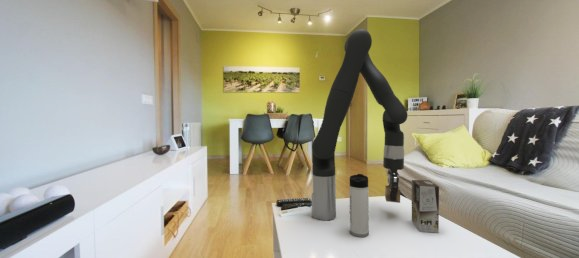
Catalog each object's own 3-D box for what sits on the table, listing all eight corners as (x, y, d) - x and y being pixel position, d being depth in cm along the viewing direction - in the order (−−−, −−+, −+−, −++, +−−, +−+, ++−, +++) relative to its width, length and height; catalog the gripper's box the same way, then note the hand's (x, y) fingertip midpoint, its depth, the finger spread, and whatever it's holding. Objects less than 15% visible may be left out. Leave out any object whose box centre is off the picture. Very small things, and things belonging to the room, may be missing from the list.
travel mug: (369, 230, 83) (369, 174, 83) (367, 239, 77) (367, 179, 77) (351, 227, 86) (351, 173, 85) (348, 235, 80) (347, 177, 79)
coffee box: (439, 233, 80) (439, 186, 80) (419, 231, 82) (419, 185, 81) (429, 221, 89) (429, 179, 88) (411, 220, 90) (411, 179, 90)
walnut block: (386, 201, 93) (386, 188, 93) (385, 197, 98) (385, 185, 98) (400, 202, 92) (400, 190, 91) (398, 198, 96) (398, 186, 96)
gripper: (382, 153, 102) (381, 192, 103) (385, 158, 88) (383, 203, 89) (401, 154, 100) (400, 193, 100) (407, 160, 86) (405, 205, 87)
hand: (392, 198), depth 95 cm, fingers closed on walnut block, 5 cm apart
